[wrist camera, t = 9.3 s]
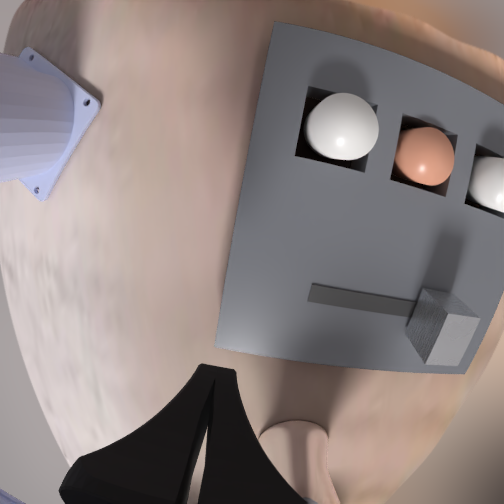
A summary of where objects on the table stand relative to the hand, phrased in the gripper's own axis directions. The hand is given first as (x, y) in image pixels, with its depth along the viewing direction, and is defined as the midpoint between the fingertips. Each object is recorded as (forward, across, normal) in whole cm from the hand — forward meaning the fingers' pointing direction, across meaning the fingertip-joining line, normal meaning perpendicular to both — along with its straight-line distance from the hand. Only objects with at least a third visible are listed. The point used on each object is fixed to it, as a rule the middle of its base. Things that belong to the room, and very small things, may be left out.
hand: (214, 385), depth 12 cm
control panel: (+9, -8, -6) cm, 14 cm away
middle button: (+9, -8, -10) cm, 16 cm away
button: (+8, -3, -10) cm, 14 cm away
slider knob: (+6, -12, -2) cm, 13 cm away
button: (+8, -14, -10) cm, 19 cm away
